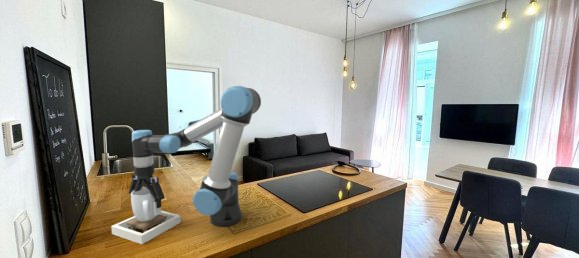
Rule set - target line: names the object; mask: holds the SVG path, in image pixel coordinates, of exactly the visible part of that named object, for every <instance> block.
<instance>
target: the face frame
mask: <svg viewBox="0 0 579 258" xmlns="http://www.w3.org/2000/svg"><path fill="white" fill-rule="evenodd" d="M160 215H163V216H167V219H165V220H164V222H163V223H161V224H160V223H158V225H157V224H156V226H154V227H151V228H150V229H149V230H148V229H147V230H148V231H146V232H144V233H142V232H139V231H136V230H135V231H133V230H131V226H129V225H127V222H129V221H132V220H134V219H136V217H135V216H134V215H133V216H132V217H130V218H127V219H124V220H123V221H120V222H117V223H115V224H113V225H111V226H110V227H111V235H114V236H117V237H120V238H122V239H126V240H128V241H132V242H134V243H136V244H140V245H144V244H146V243H147V242H149V241H151V240H152V239H154V238H156V237H158V236H159V235H161V234H164V232H166V231H168V230H170V229H172V228H174V227H175V226H177V225H179V224H180V223H182V222H181V221H182V220H181V215H180V214H177V213H172V212H168V211H165V210H161V214H160Z"/></svg>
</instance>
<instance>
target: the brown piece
mask: <svg viewBox="0 0 579 258" xmlns="http://www.w3.org/2000/svg"><path fill="white" fill-rule="evenodd" d="M165 219H167V216H163V215H160V214H159V215H157V216H156V217H155V218H154V219H153V220H151V221H148V222H139V221H138V220H137V219H134V220H132V221H129V222H127V225H129V226H131V227H130V230H133V231H136V229H139V230H142V232H143V233H144V232H146V231H148V229H149V228H152V227H153V226H155V225H157V224H161V223H163V222H165V221H166V220H165Z"/></svg>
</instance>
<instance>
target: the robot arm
mask: <svg viewBox="0 0 579 258" xmlns="http://www.w3.org/2000/svg"><path fill="white" fill-rule="evenodd" d="M219 101H220V103H219V105H220V107H221V108H219V109H217V110H216V111H214V112H212V113H210V114H209V115H207V116H205V117H203V118H201V119H199V120H198V121H196V122H194V123H192V124H190V125H189V126H187V127H185V128H183V129H181V130H180V131H177V132H172V133H167V134H161V135H160V134H159V135H157V134H153V132H152V130H150V129H138V130H137V129H136V130H134V131H132V133H131V144H132V145H131V146H132V160H133V161H132V162H133V167H134V168H133V172H134V174H132V176H131V182H130V186H129V189H128V194H129V195H131V192H132V191H134V190H135V192H136V191H140V190H141V188H144V187H146V188H147V189H149V191H150V193H151V194H152V196H153V198H154V199H155V201H154V215H155V216H157V215H159V214H161V211H162V200H164V199H165V197H166V196H165V194H164V191H163V189H162V187H161V184H160V180H159V179H160V178H159V177H158V176H157V177H154V176H153V175H154V174H155V165H154V163H155V162H154V153H158V154H160V153H161V154H173V153H174V154H175V153H177V152H178V151H179V150H180V149H182V148H187V147H189V146H191V145H192V144H193V143H194V142H196V141H198V140H199V139H202V138H203V137H206V136H208V135H209V134H211V133H213V132H215V131H216V130H218V129H220V132H219V135H218V138H217V143H216V145H215V148H214V149H215V150H214V153H213V155H212V160H211V163H210V166H209V170H208V174H206V175H205V176H203V177H202V181H201V183H200V184H201V185H200V188H198V190H196V192H195V193H194V194H193V197H192V204H193V206H194V207H195V210H196V211H197V212H198V213H200V215H203V216H209V222H210V224H211V225H212V226H215V227H230V226H233V225H236V224H238V223H240V221H242V219H243V212H242V209H241V206H240V202H239V176H238V173H236V172H235V171H232V169H233V165H234V163H235V159H236V156H237V153H238V150H239V146H240V143H241V139H242V136H243V132H244V130H245V129H244V128H245V127H247V126H249V124H250V123H251V119H252V116H253V115H254V114H255V113H257V112H258V111H259V109H260V107H261V105H262V100H261V96H260V94H259V93H258V91H256V90H255V89H253V88H251V87H245V86H243V85H242V86H241V85H237V86H236V85H235V86H231V87H229V88H227V89H226V90H224V92H223V93H222V94H221V97H220V100H219Z"/></svg>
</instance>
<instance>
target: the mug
mask: <svg viewBox="0 0 579 258" xmlns="http://www.w3.org/2000/svg"><path fill="white" fill-rule="evenodd" d="M154 201H155V199H154V198H153V196H152V194H151V193H150V191H149V189H147V188H146V187H144V186H143V187H142V188H141V190H140V191H136V192H135V190H134V191H132V192H131V194H130V202H131V209H132V213H133V216H135V217H136V219H137V220H138V221H139V222H148V221H151V220H153V219H154V218H155V217H156V216H155V215H154Z"/></svg>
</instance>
